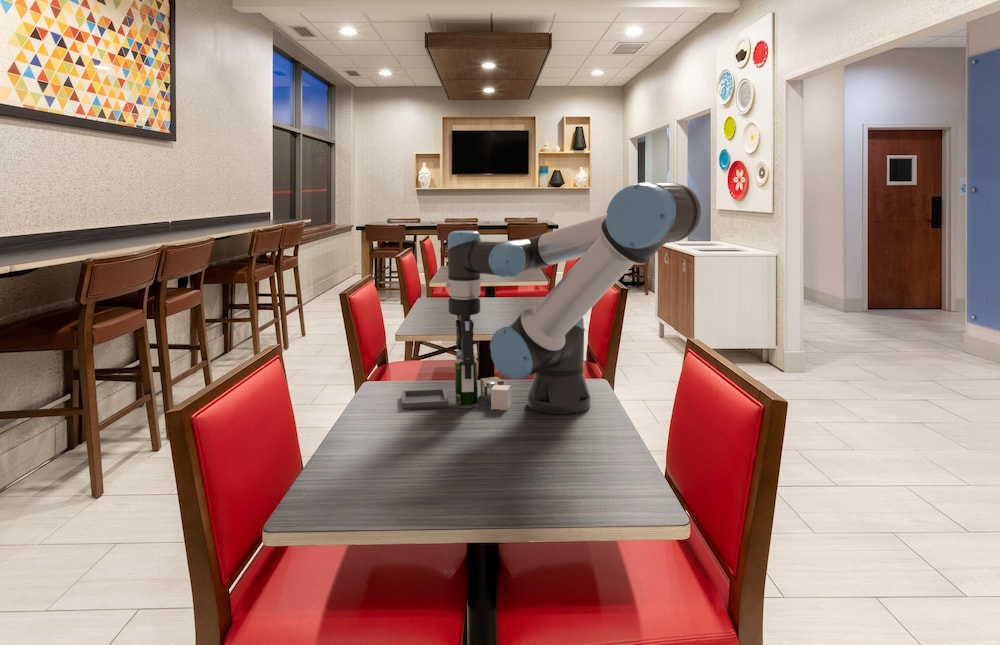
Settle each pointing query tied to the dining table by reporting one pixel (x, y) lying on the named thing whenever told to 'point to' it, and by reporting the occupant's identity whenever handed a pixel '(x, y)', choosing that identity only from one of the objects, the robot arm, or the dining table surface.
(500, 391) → the cream block
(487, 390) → the grey metal cylinder
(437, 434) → the dining table surface
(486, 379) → the walnut block
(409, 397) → the tray
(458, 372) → the green soda can
